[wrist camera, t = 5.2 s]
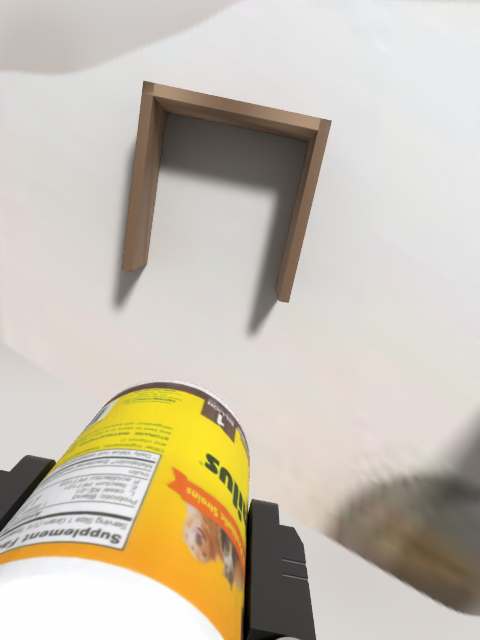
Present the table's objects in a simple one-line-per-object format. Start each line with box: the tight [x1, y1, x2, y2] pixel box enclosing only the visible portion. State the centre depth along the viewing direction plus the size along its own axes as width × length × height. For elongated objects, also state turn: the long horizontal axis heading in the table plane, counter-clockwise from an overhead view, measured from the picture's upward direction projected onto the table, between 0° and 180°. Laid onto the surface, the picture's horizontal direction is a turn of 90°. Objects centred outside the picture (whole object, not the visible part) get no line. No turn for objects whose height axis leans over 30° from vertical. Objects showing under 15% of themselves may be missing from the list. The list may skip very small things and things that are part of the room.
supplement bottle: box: [0, 379, 249, 640], centre depth 9 cm, size 6×6×10 cm
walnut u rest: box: [122, 81, 331, 303], centre depth 20 cm, size 9×9×3 cm
